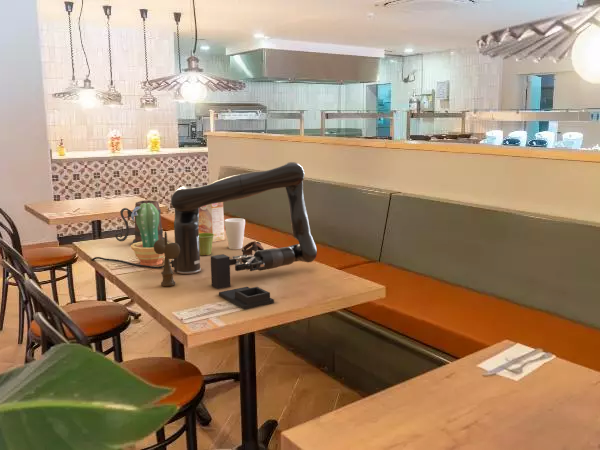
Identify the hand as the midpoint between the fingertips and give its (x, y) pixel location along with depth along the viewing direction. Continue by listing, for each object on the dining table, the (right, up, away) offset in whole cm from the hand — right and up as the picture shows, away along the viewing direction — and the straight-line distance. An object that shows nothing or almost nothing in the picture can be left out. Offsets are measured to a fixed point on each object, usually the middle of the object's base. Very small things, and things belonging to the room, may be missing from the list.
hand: (230, 265), depth 207 cm
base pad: (+8, -10, -15) cm, 20 cm away
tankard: (-54, +6, +65) cm, 84 cm away
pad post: (-3, -7, -1) cm, 8 cm away
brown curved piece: (+4, 0, +40) cm, 40 cm away
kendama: (-22, -7, 0) cm, 23 cm away
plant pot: (-20, +2, +46) cm, 50 cm away
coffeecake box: (-24, +8, +77) cm, 81 cm away
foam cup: (-8, +4, +58) cm, 59 cm away
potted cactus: (-38, -1, +30) cm, 49 cm away
